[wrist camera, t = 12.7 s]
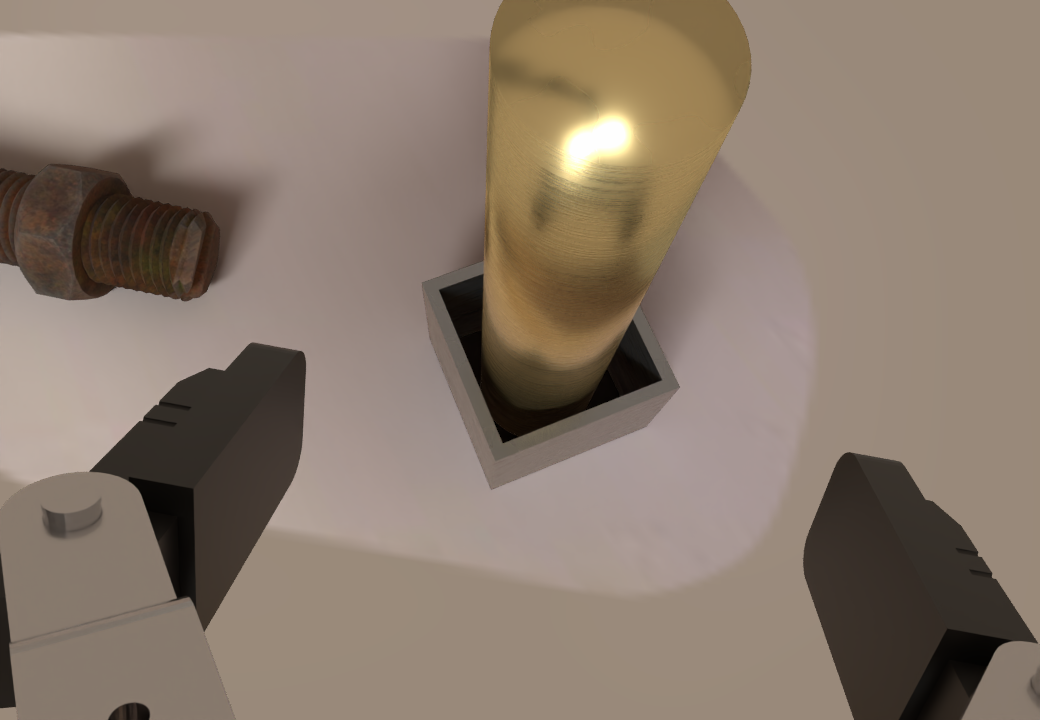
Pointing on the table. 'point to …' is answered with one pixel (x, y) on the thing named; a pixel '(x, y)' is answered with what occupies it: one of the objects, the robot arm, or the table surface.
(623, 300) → the tall amber cylinder
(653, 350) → the open square box
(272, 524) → the table surface
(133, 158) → the table surface
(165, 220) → the bolt
